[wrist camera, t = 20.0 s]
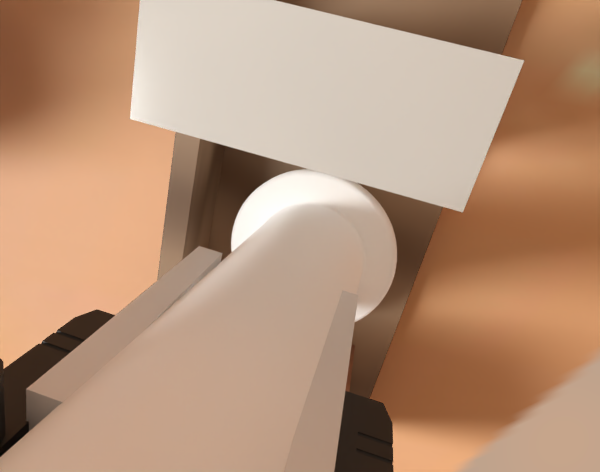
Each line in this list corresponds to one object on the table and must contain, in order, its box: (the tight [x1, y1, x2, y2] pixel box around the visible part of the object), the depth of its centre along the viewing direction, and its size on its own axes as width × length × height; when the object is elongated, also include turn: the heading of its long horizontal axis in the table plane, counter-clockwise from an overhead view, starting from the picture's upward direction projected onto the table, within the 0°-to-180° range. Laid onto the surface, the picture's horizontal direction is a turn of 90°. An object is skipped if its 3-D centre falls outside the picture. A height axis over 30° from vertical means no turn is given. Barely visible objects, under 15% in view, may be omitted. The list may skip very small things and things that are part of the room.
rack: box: [157, 0, 522, 398], centre depth 13 cm, size 24×11×14 cm, turn 166°
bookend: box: [130, 0, 524, 212], centre depth 13 cm, size 3×8×9 cm, turn 76°
